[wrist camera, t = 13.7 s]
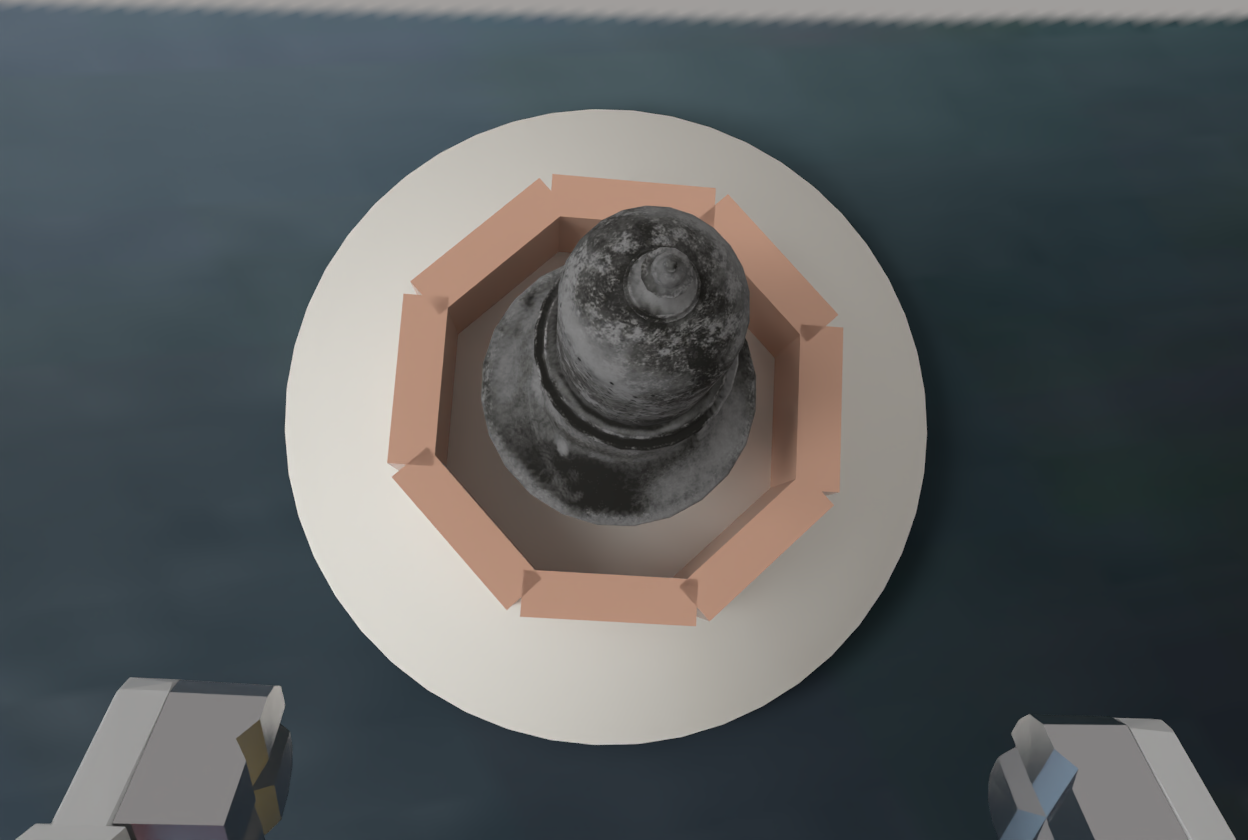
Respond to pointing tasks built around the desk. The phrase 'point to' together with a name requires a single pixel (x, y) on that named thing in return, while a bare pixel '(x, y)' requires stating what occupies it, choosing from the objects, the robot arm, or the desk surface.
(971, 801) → the desk surface
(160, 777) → the robot arm
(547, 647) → the saucer
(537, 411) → the grey chess piece
